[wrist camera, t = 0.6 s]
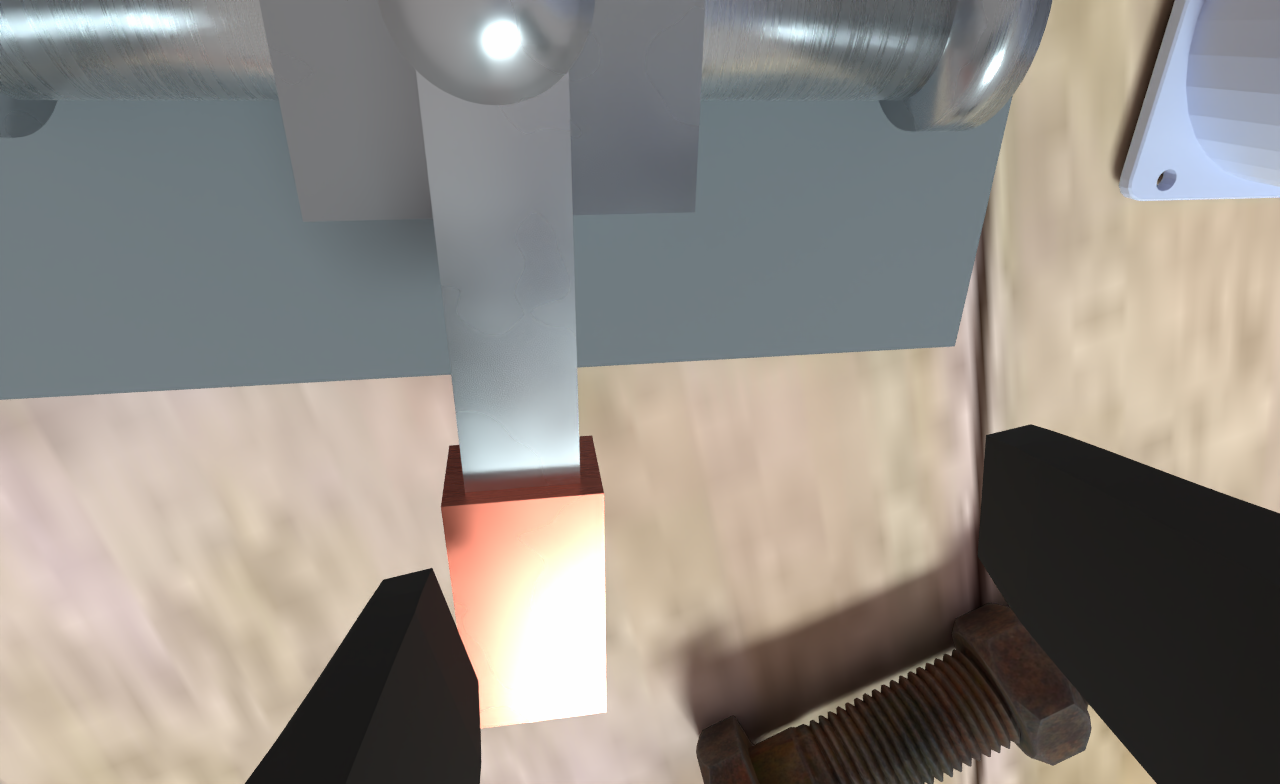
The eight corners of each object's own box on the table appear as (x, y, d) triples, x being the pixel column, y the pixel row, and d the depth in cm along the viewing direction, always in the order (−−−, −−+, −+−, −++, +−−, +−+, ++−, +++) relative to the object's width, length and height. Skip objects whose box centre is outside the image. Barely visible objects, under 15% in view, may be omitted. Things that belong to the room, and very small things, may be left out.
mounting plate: (1105, -468, 13) (1150, -505, 12) (934, 331, 19) (954, 346, 18) (-615, -700, 9) (-740, -780, 8) (-82, 385, 16) (-117, 406, 15)
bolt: (1062, 559, 27) (707, 735, 28) (1099, 517, 23) (678, 726, 23) (1182, 713, 24) (780, 909, 24) (1250, 698, 20) (761, 935, 20)
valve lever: (379, -124, 8) (351, -157, 6) (581, -115, 8) (597, -144, 7) (475, 653, 13) (471, 729, 12) (595, 640, 13) (605, 711, 12)
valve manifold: (948, -156, 13) (1219, -267, 8) (895, 157, 16) (1078, 218, 11) (-91, -216, 11) (-624, -433, 6) (43, 168, 13) (-243, 254, 8)
